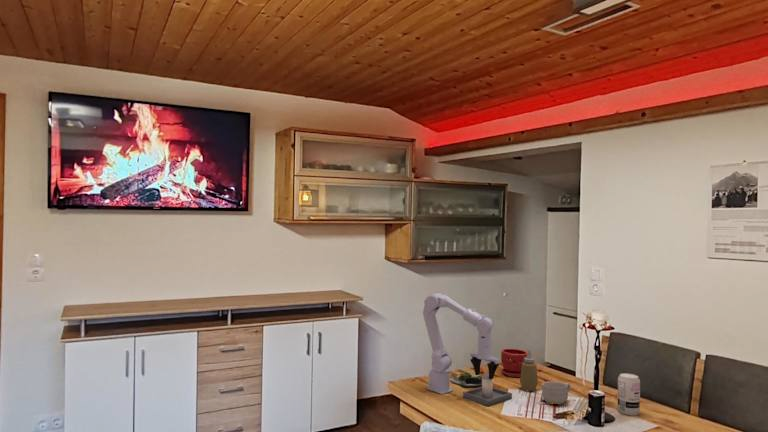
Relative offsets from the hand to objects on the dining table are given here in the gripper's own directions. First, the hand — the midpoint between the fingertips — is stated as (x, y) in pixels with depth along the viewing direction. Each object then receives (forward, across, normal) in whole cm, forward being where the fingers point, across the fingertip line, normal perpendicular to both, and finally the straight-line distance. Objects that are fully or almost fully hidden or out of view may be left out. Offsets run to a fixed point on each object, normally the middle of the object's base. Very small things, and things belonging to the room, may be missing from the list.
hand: (484, 376), depth 234 cm
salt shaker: (+8, +1, +1) cm, 8 cm away
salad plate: (+10, -19, +13) cm, 25 cm away
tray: (+9, +1, +1) cm, 9 cm away
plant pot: (+10, -14, +41) cm, 44 cm away
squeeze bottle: (+9, +5, +26) cm, 28 cm away
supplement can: (+9, +48, +33) cm, 59 cm away
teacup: (+9, +23, +21) cm, 33 cm away
